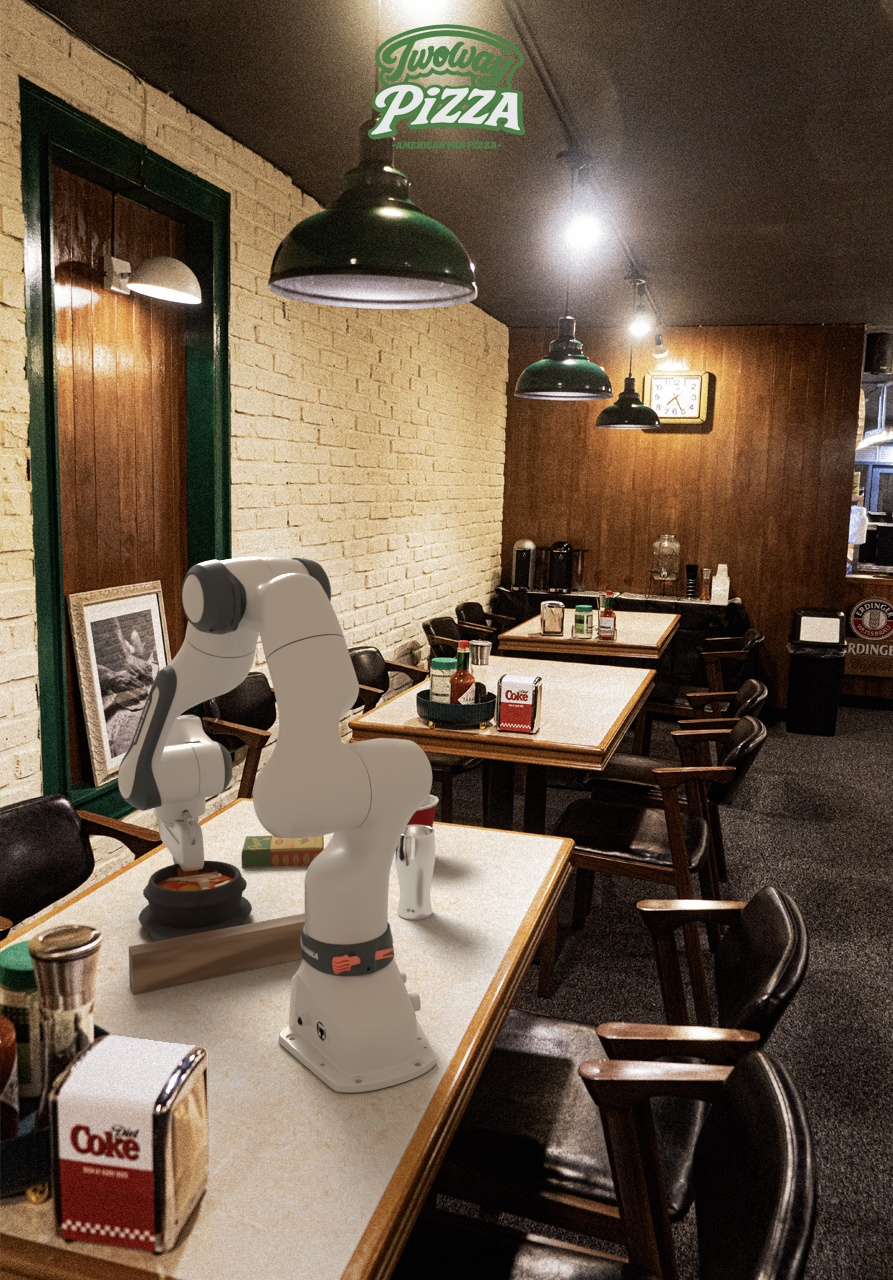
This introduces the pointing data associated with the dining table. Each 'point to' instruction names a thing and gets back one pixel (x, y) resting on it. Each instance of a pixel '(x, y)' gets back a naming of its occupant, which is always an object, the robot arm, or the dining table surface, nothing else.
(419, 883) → the beer glass
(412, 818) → the plastic cup
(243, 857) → the carton
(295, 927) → the walnut board
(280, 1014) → the dining table surface
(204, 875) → the casserole
